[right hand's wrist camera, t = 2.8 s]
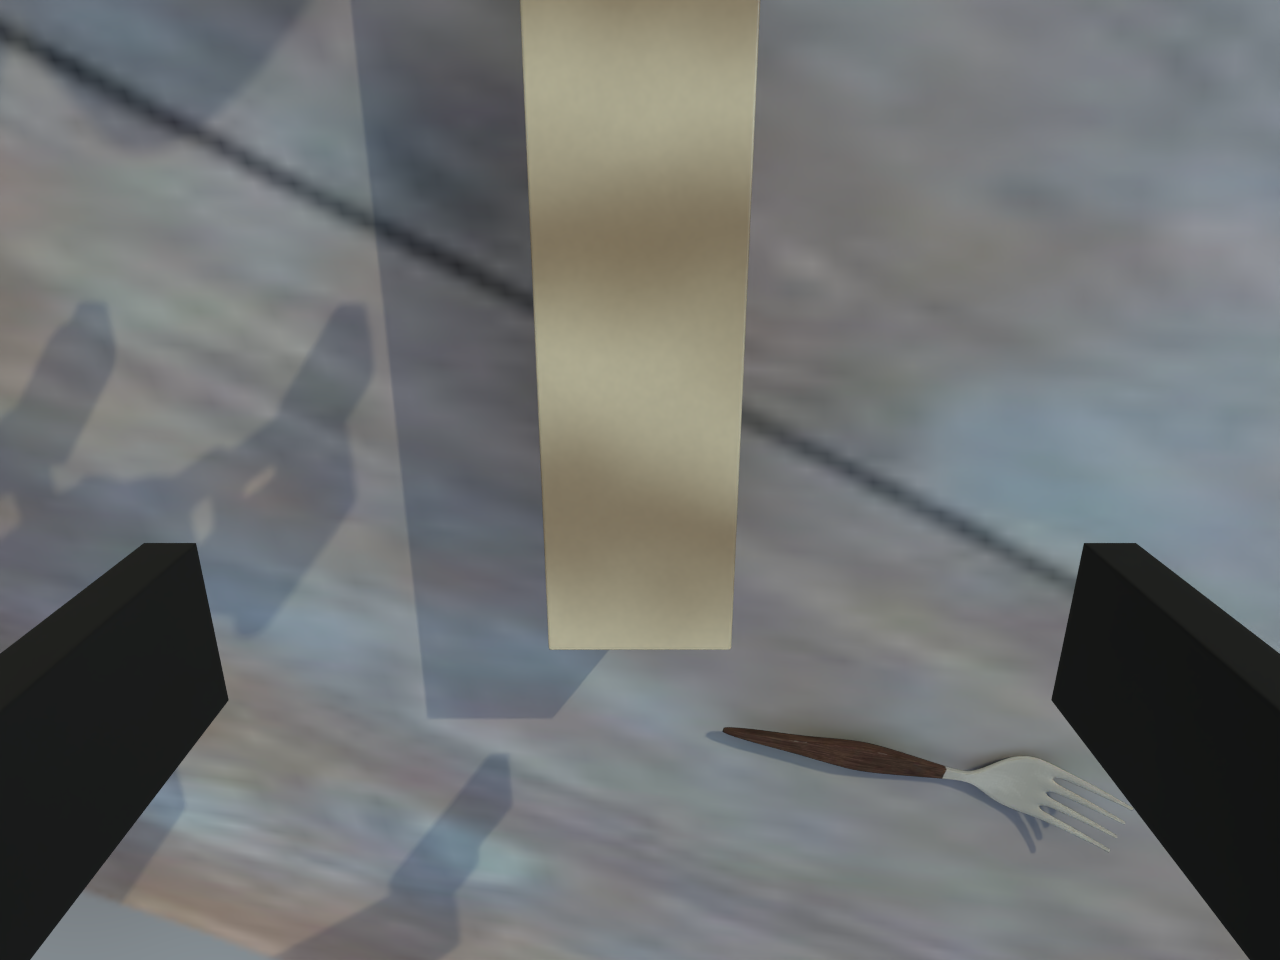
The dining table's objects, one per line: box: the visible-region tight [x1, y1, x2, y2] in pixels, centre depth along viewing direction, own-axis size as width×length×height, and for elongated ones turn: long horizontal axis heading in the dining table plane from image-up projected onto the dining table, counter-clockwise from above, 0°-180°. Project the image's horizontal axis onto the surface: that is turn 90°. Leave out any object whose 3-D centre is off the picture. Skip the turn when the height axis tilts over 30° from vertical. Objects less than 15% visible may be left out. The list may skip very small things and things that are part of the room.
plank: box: [520, 0, 760, 650], centre depth 21 cm, size 30×5×8 cm, turn 0°
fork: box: [723, 727, 1133, 852], centre depth 33 cm, size 3×16×2 cm, turn 77°
